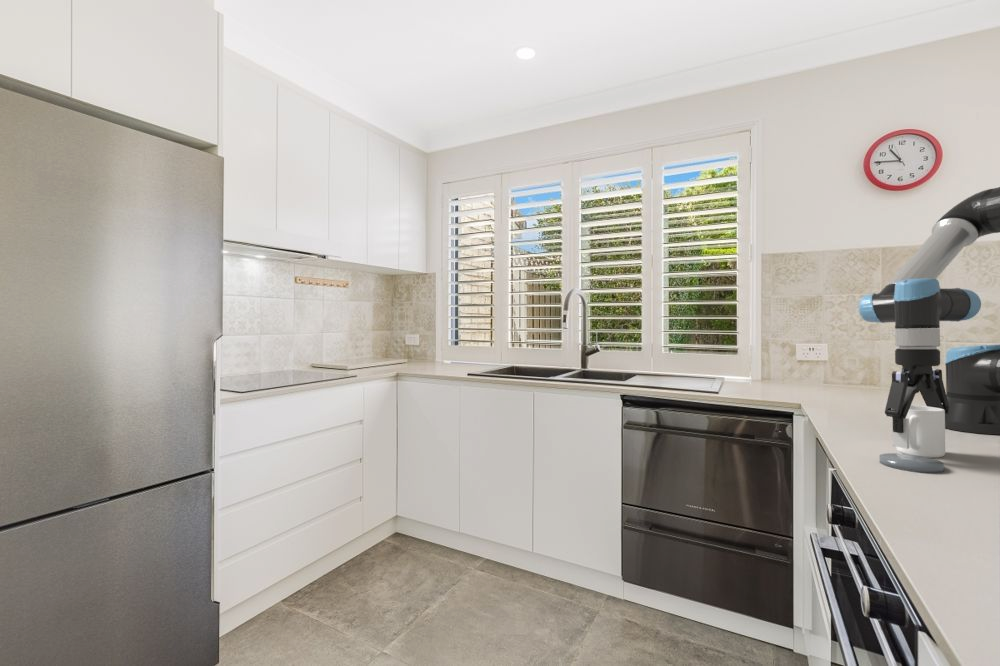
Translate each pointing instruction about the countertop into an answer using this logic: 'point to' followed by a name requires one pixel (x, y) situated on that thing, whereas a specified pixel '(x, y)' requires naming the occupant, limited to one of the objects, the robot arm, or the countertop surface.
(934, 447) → the mug
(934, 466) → the slate plate
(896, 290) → the robot arm
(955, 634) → the countertop surface
